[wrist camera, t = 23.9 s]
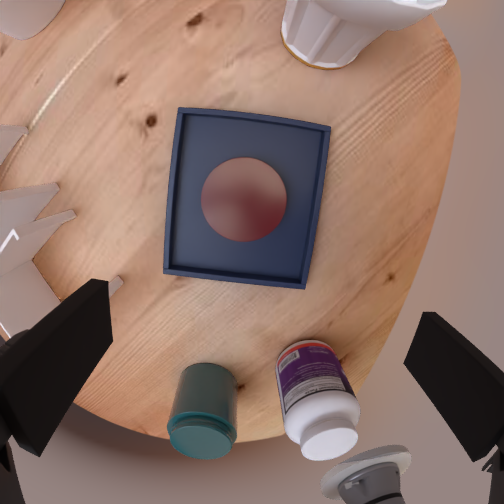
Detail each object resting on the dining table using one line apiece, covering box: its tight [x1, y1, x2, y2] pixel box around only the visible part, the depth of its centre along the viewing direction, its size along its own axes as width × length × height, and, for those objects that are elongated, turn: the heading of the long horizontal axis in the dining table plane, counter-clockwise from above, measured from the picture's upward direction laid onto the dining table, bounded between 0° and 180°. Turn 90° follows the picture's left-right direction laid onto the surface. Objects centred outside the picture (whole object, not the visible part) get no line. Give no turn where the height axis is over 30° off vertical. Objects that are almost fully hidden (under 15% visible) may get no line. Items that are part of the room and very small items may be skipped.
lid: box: [201, 157, 287, 242], centre depth 29 cm, size 8×8×2 cm
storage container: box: [0, 124, 124, 338], centre depth 25 cm, size 25×11×11 cm, turn 34°
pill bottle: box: [275, 340, 360, 461], centre depth 29 cm, size 8×8×14 cm
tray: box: [163, 107, 331, 289], centre depth 29 cm, size 17×15×2 cm
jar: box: [167, 363, 237, 459], centre depth 32 cm, size 8×8×11 cm
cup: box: [281, 0, 447, 70], centre depth 17 cm, size 11×11×17 cm
